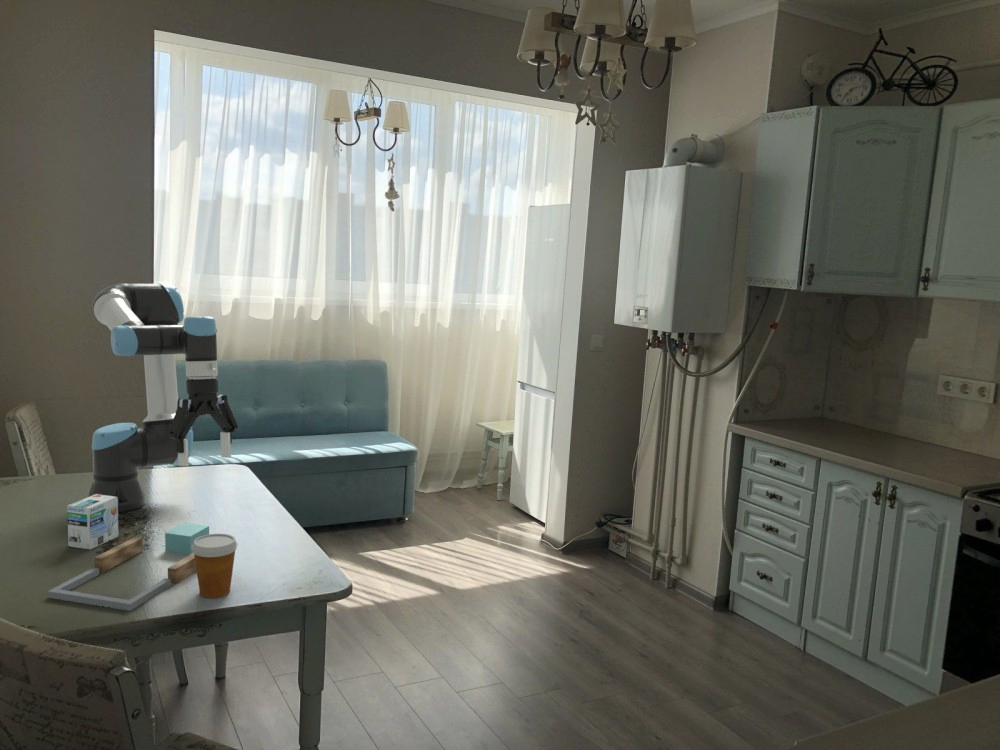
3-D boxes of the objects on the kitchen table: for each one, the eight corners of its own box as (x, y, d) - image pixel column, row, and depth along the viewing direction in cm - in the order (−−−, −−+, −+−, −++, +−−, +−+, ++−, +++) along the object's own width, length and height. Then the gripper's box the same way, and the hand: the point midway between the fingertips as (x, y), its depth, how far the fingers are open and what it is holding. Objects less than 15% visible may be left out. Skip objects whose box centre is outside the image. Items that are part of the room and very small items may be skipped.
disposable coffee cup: (192, 604, 167) (192, 550, 165) (191, 586, 176) (190, 535, 174) (239, 598, 171) (239, 545, 169) (235, 581, 179) (235, 531, 178)
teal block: (185, 541, 203) (184, 522, 202) (209, 544, 201) (209, 526, 200) (165, 552, 195) (165, 532, 194) (190, 555, 193) (190, 536, 193)
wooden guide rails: (135, 550, 194) (135, 537, 194) (211, 561, 190) (211, 547, 189) (94, 571, 181) (94, 557, 180) (175, 584, 176) (175, 569, 176)
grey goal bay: (93, 573, 180) (93, 567, 179) (171, 585, 176) (170, 579, 175) (48, 597, 167) (47, 591, 166) (130, 611, 162) (130, 604, 162)
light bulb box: (90, 550, 193) (89, 508, 192) (67, 547, 195) (65, 505, 193) (119, 535, 204) (118, 495, 202) (97, 533, 205) (96, 493, 203)
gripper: (171, 381, 184) (175, 470, 186) (249, 375, 207) (252, 454, 208) (149, 380, 188) (153, 468, 189) (229, 374, 210) (232, 453, 211)
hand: (205, 461), depth 198 cm, fingers open, 13 cm apart
